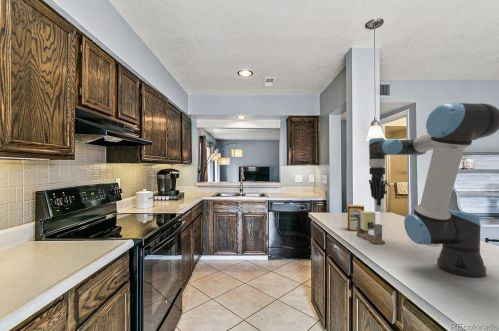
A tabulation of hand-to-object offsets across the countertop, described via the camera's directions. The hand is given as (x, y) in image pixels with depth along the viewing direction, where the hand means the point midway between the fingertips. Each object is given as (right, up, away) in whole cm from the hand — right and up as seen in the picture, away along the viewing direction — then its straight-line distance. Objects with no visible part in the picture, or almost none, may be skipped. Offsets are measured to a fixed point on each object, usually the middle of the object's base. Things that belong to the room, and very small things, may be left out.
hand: (377, 211), depth 137 cm
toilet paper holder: (-1, -17, +8) cm, 19 cm away
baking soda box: (0, -17, +28) cm, 33 cm away
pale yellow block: (-1, -12, +10) cm, 15 cm away
